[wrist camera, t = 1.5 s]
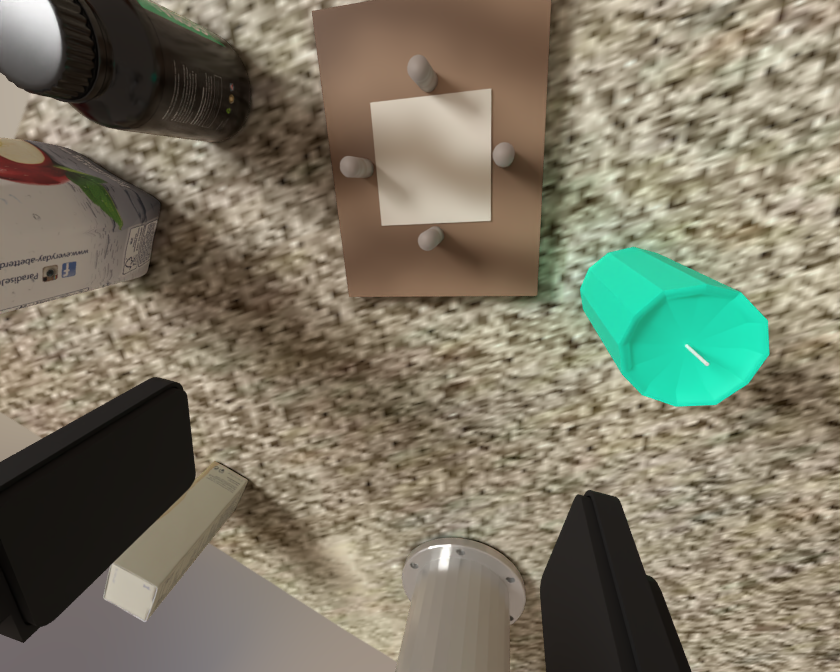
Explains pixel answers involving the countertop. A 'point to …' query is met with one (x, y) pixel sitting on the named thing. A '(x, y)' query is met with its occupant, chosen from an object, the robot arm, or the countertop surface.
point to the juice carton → (67, 225)
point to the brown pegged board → (437, 142)
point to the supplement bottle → (126, 66)
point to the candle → (674, 328)
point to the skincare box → (173, 542)
